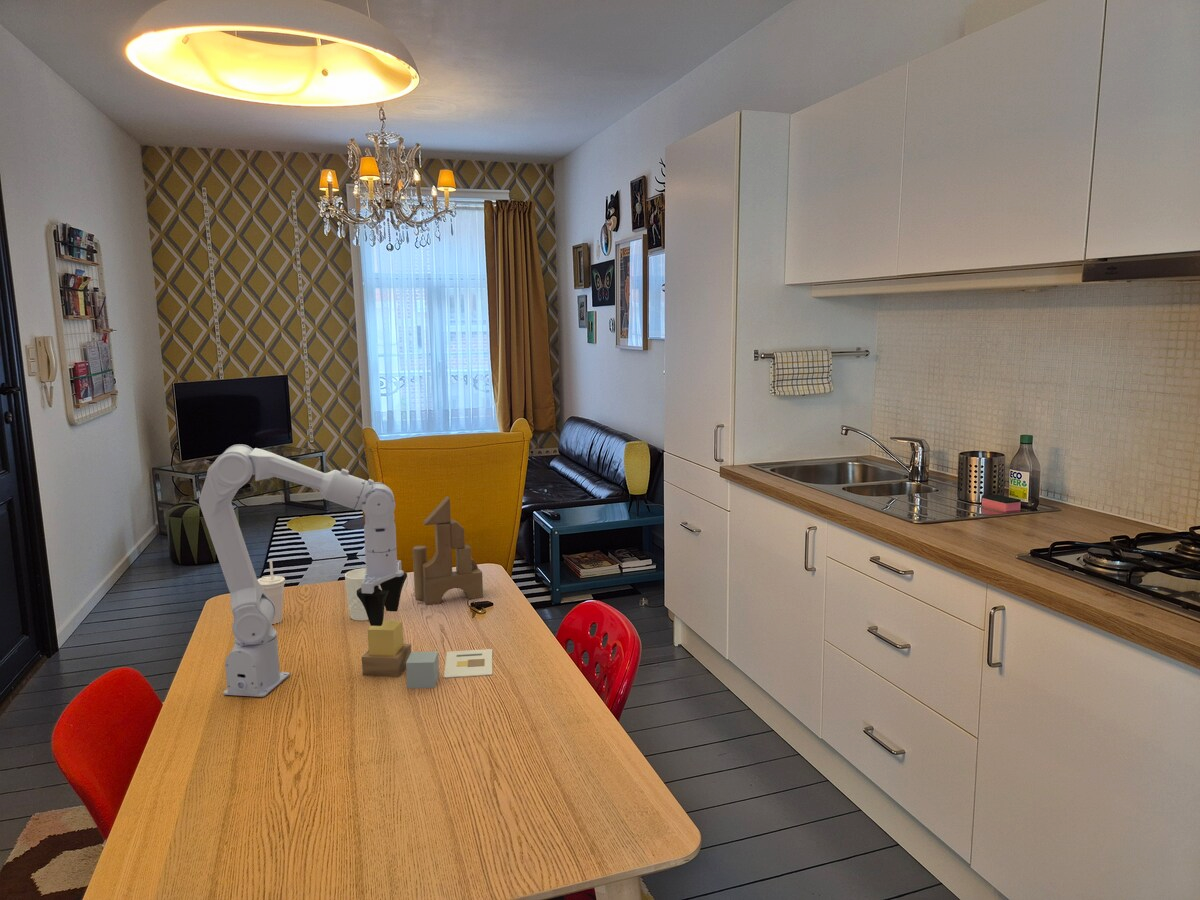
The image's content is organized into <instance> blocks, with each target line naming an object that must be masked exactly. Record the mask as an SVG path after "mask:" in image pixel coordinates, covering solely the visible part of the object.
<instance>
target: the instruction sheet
mask: <svg viewBox="0 0 1200 900" xmlns="http://www.w3.org/2000/svg"><path fill="white" fill-rule="evenodd" d="M445 656H446V657H445V664H444V672H443V679H450V678H451V679H453V678H464V677H465V678H468V677H485V676H493V649H492V648H487V649H485V648H484V649H471V650H470V649H469V650H453V651H452V650H451V651H446V655H445Z"/></svg>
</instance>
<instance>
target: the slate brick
mask: <svg viewBox="0 0 1200 900" xmlns="http://www.w3.org/2000/svg"><path fill="white" fill-rule="evenodd" d="M439 665H440V664H439V651H438V650H437V651H435V650H434V651H411V653H410V656H409V658H408V660H407V662H406V669H405V671H406V689H411V690H412V689H436V686H437V683H438V680H439V677H440V666H439Z"/></svg>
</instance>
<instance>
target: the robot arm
mask: <svg viewBox="0 0 1200 900" xmlns="http://www.w3.org/2000/svg"><path fill="white" fill-rule="evenodd" d="M206 471H207V473H206V476H205V480H204V483H203V487H202V488H201V492H200V495H199V498H198V503H199V507H200V510H201V512H202V516H203V518H204V521H205V525H206V527H207V530H208V534H209V536H210V540H211V542H212V545H213V547H214V551H215V554H216V555H217V559H218V562H219V566H220V569H221V571H222V574H223V577H224V580H225V583H226V585H227V589H228V591H229V593H230V609H231V613H232V615H233V620H232V621H233V622H232V628H231V630H232V634H233V636H234V645H233V648H232V650H231V651H230V652H229V653H228V655H227V656H226V659H225V662H224V663H225V664H224V665H225V676H226V677H225V678H226V688H227V689H225V690H223V692H222V695H224V696H240V697H241V696H242V697H259V698H260V697H261V698H263V697H266V696H267V695H268V694H270V693H271V692H272V690H274V689H275V688H276V687H278V686H279V685H280V684H281V683H282V682H283V681H284V680H286V679H287V678H288V677H289V676H290V675H291V673H290V672H288V671H287V672H286V671H281V670H280V658H279V642H278V631H277V630H276V628H274V626H273V625H271V622H272V620H273V618H274V616H275V611H276V610H275V605H274V603H273V602H272V600H271V599H269V598H268V597H267V596H266V594H265V592H264V590H263V587H262V586H261V585H260V583H259V582H258V580H257V579H258V578H257V574H256V571H255V569H254V565H253V562H252V560H251V558H250V553H249V552H248V549H247V545H246V541H245V539H244V536H243V533H242V529H241V527H240V525H239V521H238V518H237V516H236V512H235V509H234V507H233V503H232V501H233V500H234V497H235V496H236V494H237V493H238V491H239V489H241V488H242V487H243V486H245V485H246V484H247V483H248V482H249V481H250V480H251V478H252V476H254V477H255V482H258V481H262V480H267V479H270V478H278V479H281V480H283V481H287V482H291V483H294V484H298V485H300V486H304V487H308V488H311V489H315V490H318V491H319V493H320V496H321V497H322V499H323V500H325V501H329V502H330V503H331V502H332V503H334V504H338V505H341V506H343V507H346V508H348V509H352V510H355V511H360V510H362V512H363V514H364V519H365V520H364V522H365V523H364V525H363V533H364V534H363V535H364V552H365V553H364V555H365V568H366V572H365V577H364V581H363V582H362V583H361V588H359V589H358V590H357V597H358V598H359V599H360V601H361V602H362V604H363V606H364V608H365V610H366V613H367V616H368V619H369V620H368V622H369V624H370V627H371V626H381V625H382V624H383V620H384V619H385V618H384V615H385V611H386V612H397V611H398V610H399V605H400V601H401V594H402V590H403V587H404V585H405V582H406V580H407V578H408V573H407V572H404V570H402V560H401V559H400V560H399V559H398V555H397V554H398V551H397V547H398V546H397V529H396V528H397V527H396V523H395V520H396V517H395V513H394V512H395V510H396V506H397V505H396V502H395V496H394V495H395V494H394V493H393V490H392V489H391V488H390V487H389V486H387V485H386V484H384V483H383V482H382V481H376V482H375V481H374V480H373V479H372V478H368V480H366V479H363V478H360V477H357V476H354V475H352V474H349V472H350V471H349V470H348V469H346V468H342V469H340V470H337V469H333V470H331V471H329V472H323V471H320V470H318V469H315V468H313V467H310V466H307V465H305V464H302V463H300V462H298V461H295V460H292V459H289V458H287V457H284V456H281V455H278V454H276V453H275V452H271V451H268V450H265V449H262V448H258V447H255V448H252V447H251V446H249V445H247V444H242V443H241V444H240V443H239V444H233V445H231V446H229V447H228V448H226V449H225V450H224V451H223V452H222V453H221V454H220V455H218V457H217V458H216V459H215V461H213V462H212V464H211V465H209V467H208V469H207V470H206ZM378 585H380V586H381V590H380V588H379V586H378Z"/></svg>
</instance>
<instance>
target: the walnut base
mask: <svg viewBox="0 0 1200 900" xmlns="http://www.w3.org/2000/svg"><path fill="white" fill-rule="evenodd" d="M411 652H412V644H411V643H403V646H402V648H401V649H400V650H399V651H398V652H397V653H396V655H395V656H392V655H369V649H368V650H367V651H366V652H365V653H364V654H363V655H362V656H361V669H362V676H364V677H379V678H380V677H382V678H384V677H385V678H400V676H401V675H402V674H403V673H404V672H405V671H406V662H407V660H408V658H409V656H410V653H411Z"/></svg>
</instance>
